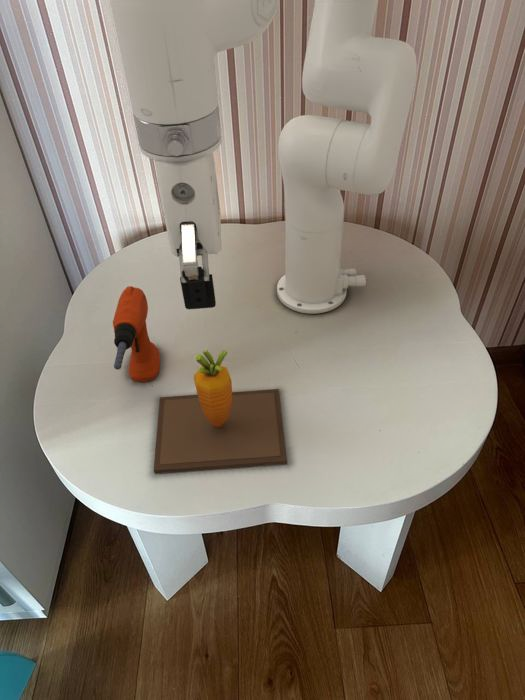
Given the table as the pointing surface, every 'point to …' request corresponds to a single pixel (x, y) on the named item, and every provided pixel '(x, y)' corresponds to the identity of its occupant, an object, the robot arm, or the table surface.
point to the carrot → (214, 388)
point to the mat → (220, 434)
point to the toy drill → (135, 336)
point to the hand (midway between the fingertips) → (201, 277)
